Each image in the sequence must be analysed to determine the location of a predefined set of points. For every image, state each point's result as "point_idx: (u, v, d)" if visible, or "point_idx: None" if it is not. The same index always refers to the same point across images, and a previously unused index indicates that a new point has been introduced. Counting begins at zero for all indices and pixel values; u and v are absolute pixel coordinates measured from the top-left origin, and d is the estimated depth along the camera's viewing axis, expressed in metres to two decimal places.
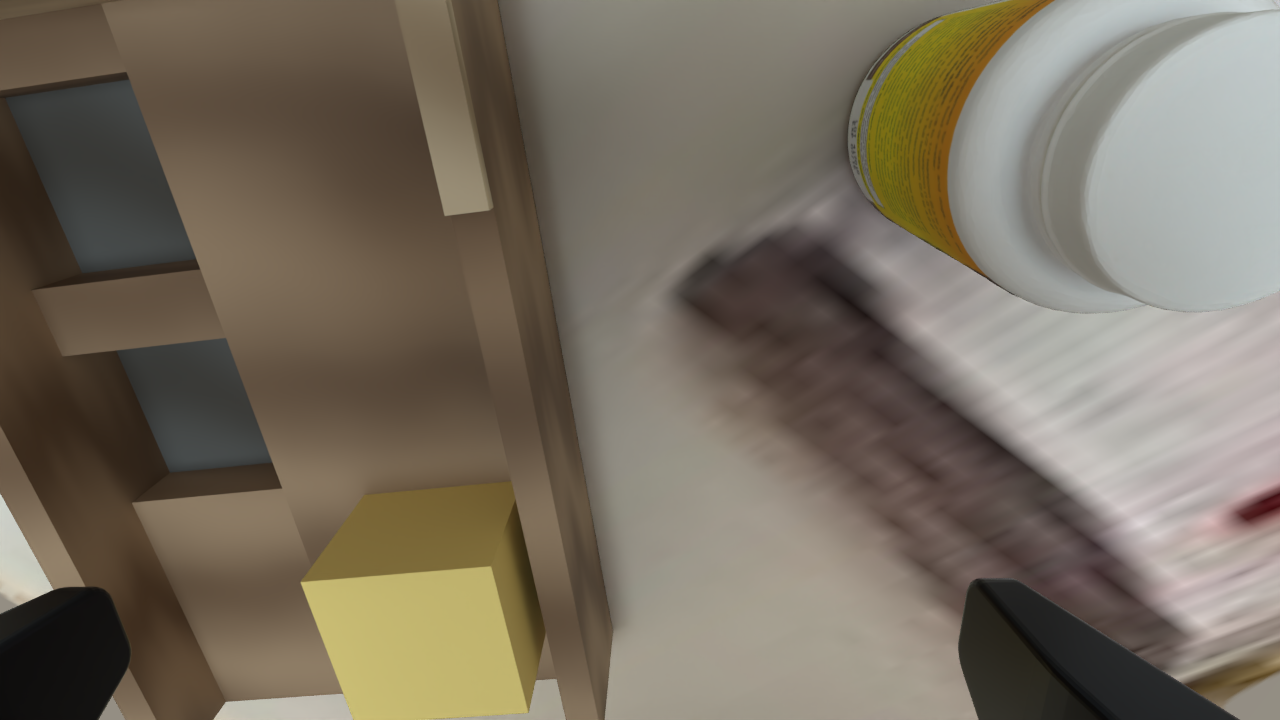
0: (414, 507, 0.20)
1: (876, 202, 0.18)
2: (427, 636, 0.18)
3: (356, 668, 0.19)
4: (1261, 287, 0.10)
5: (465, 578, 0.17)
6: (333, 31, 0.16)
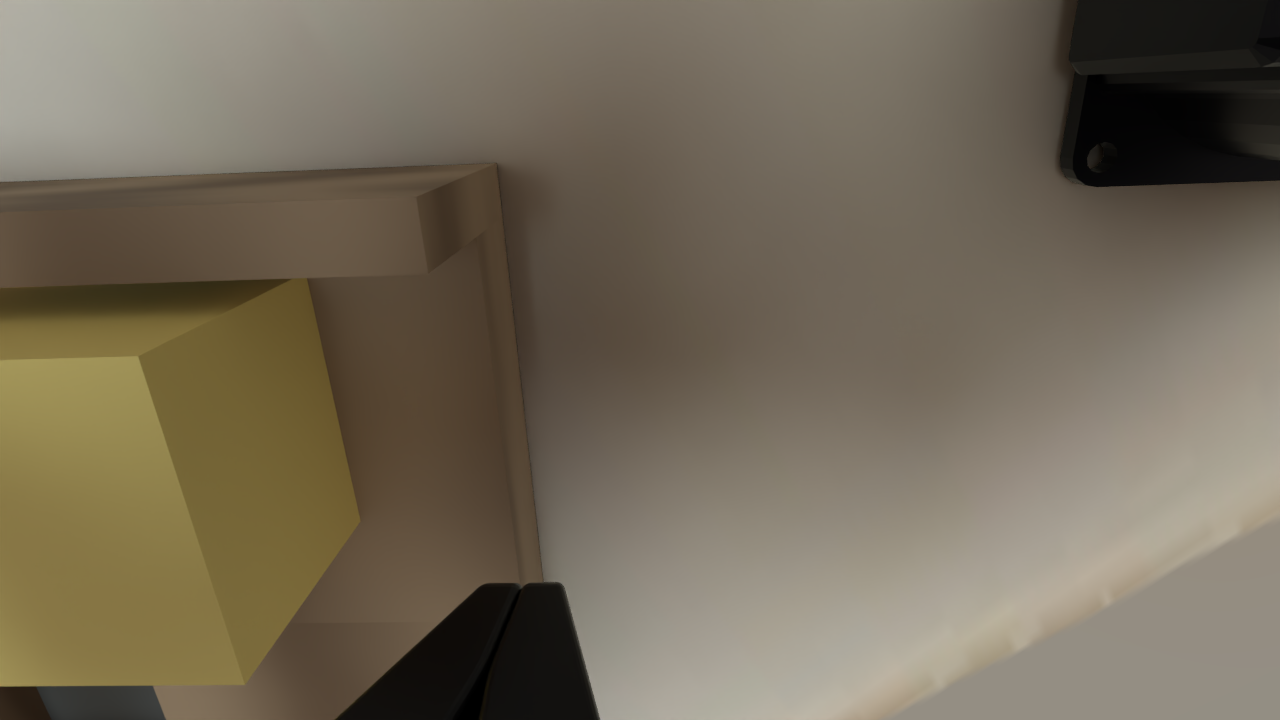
0: None
1: None
2: None
3: (93, 652, 0.10)
4: None
5: None
6: None
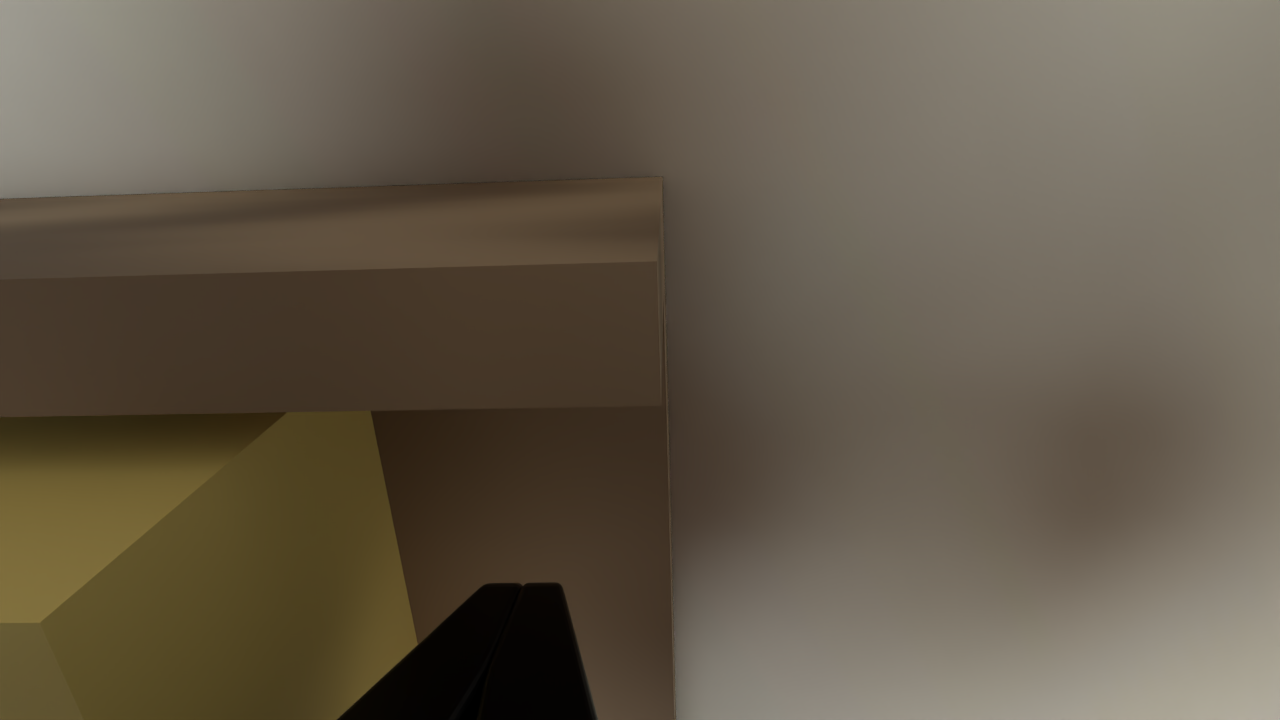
0: None
1: None
2: None
3: None
4: None
5: None
6: None
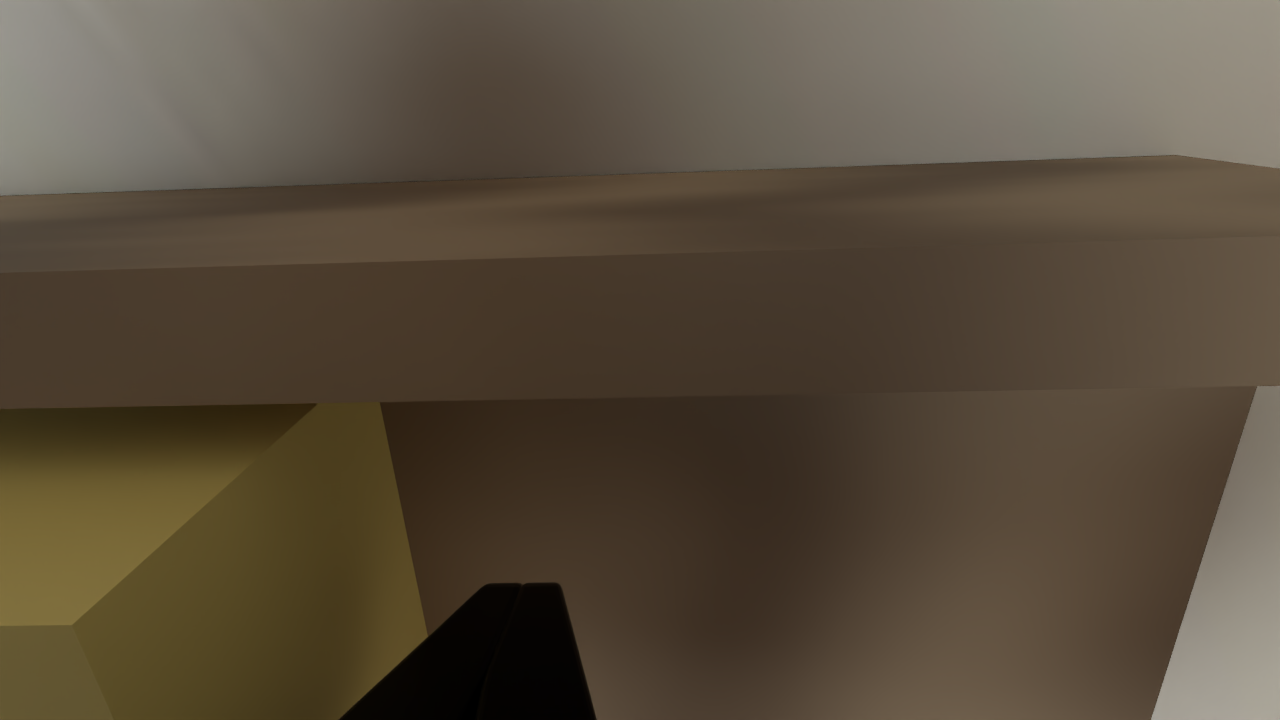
0: None
1: None
2: None
3: None
4: None
5: None
6: None
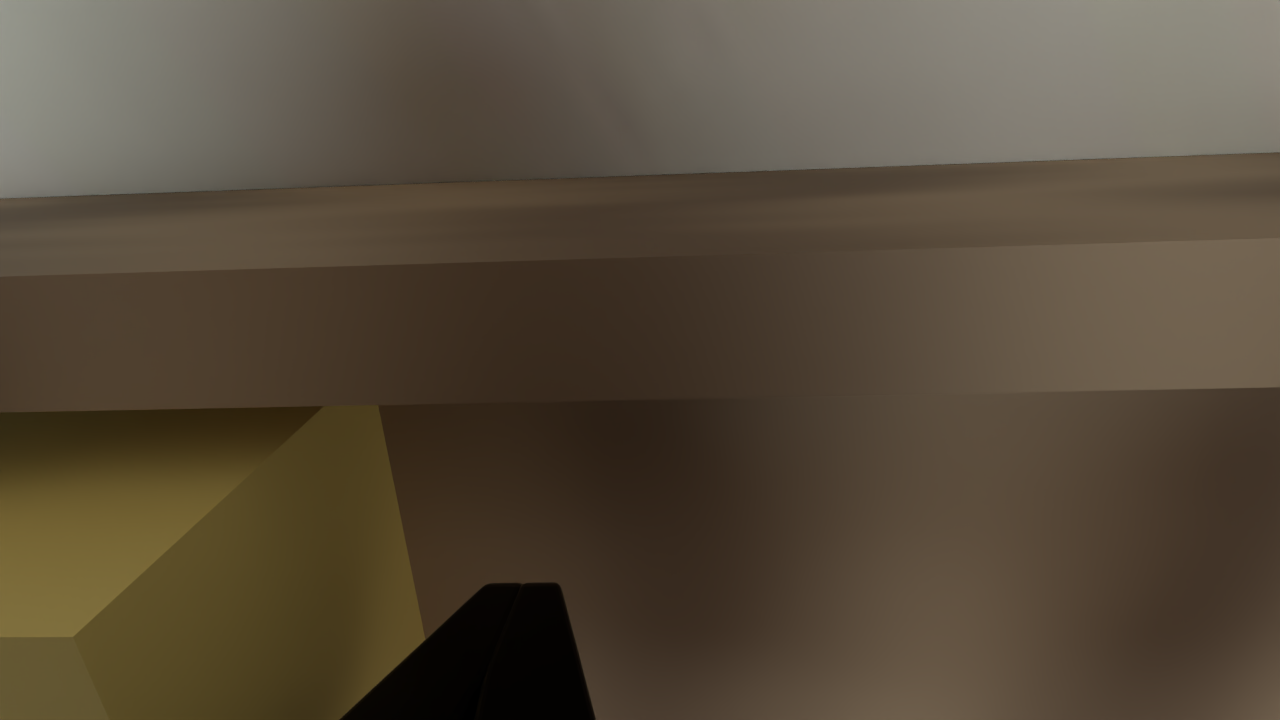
0: None
1: None
2: None
3: None
4: None
5: None
6: None
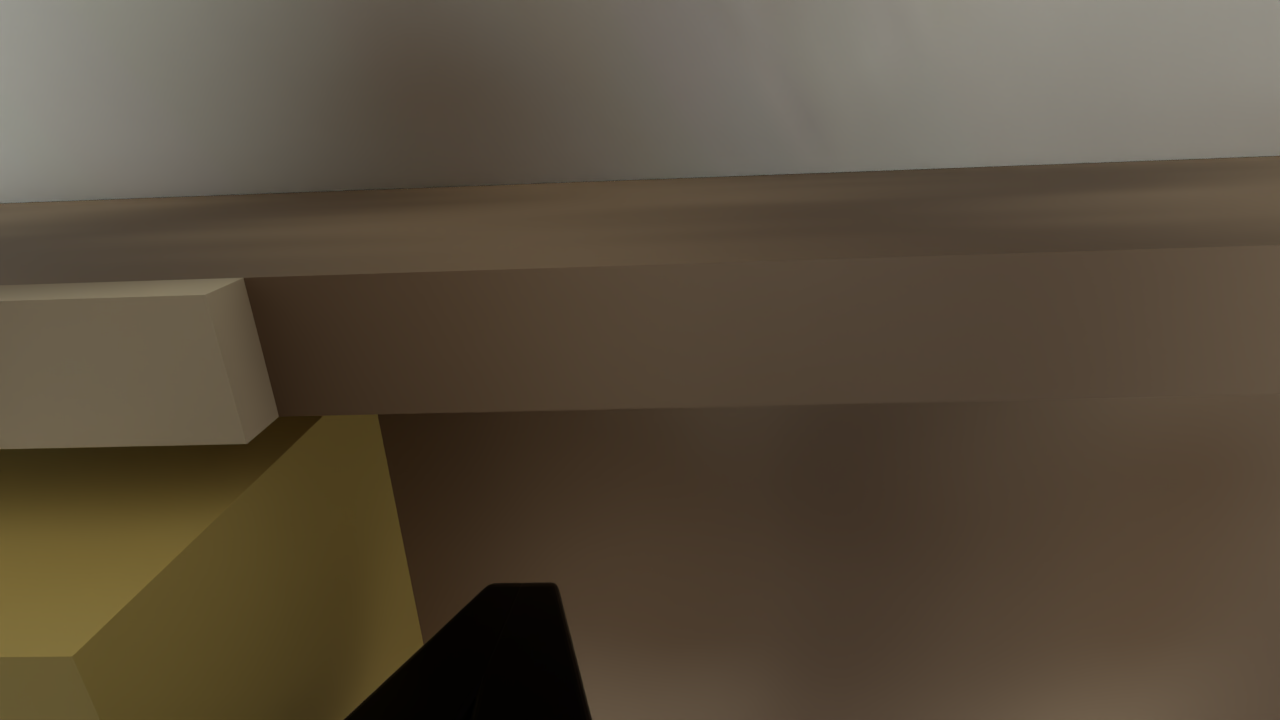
0: None
1: None
2: None
3: None
4: None
5: None
6: None
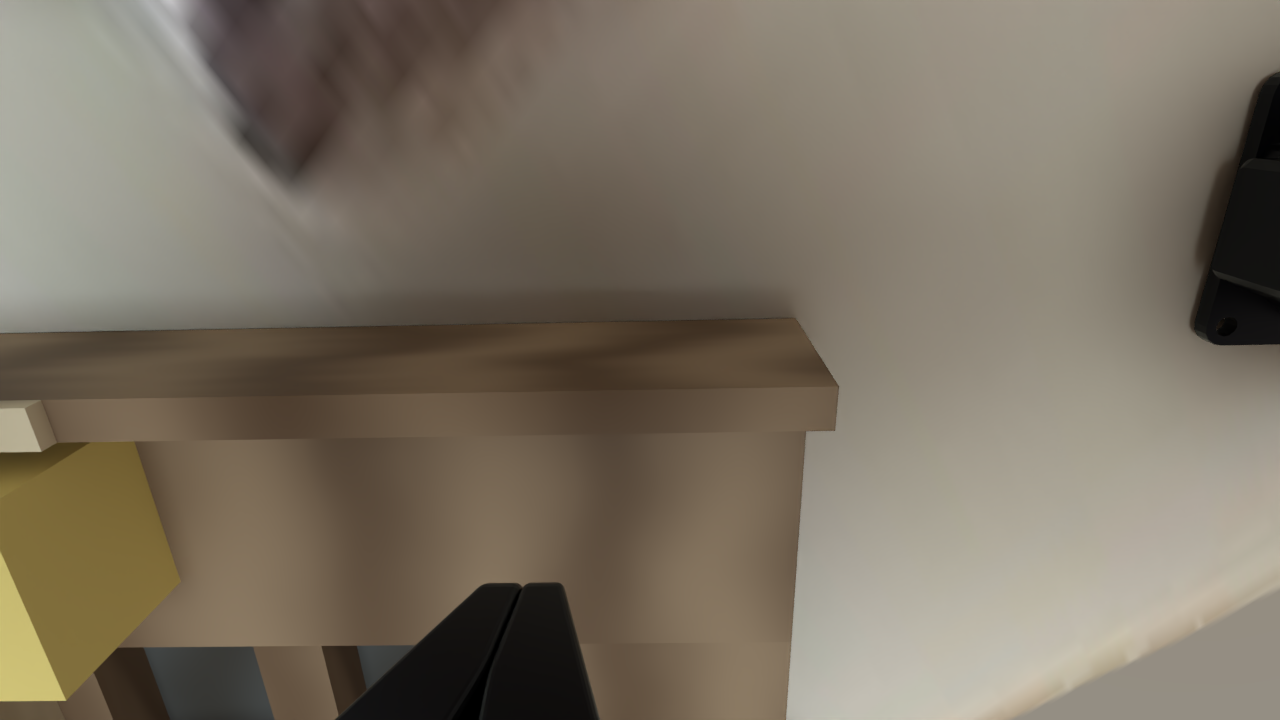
0: None
1: None
2: None
3: None
4: None
5: None
6: None
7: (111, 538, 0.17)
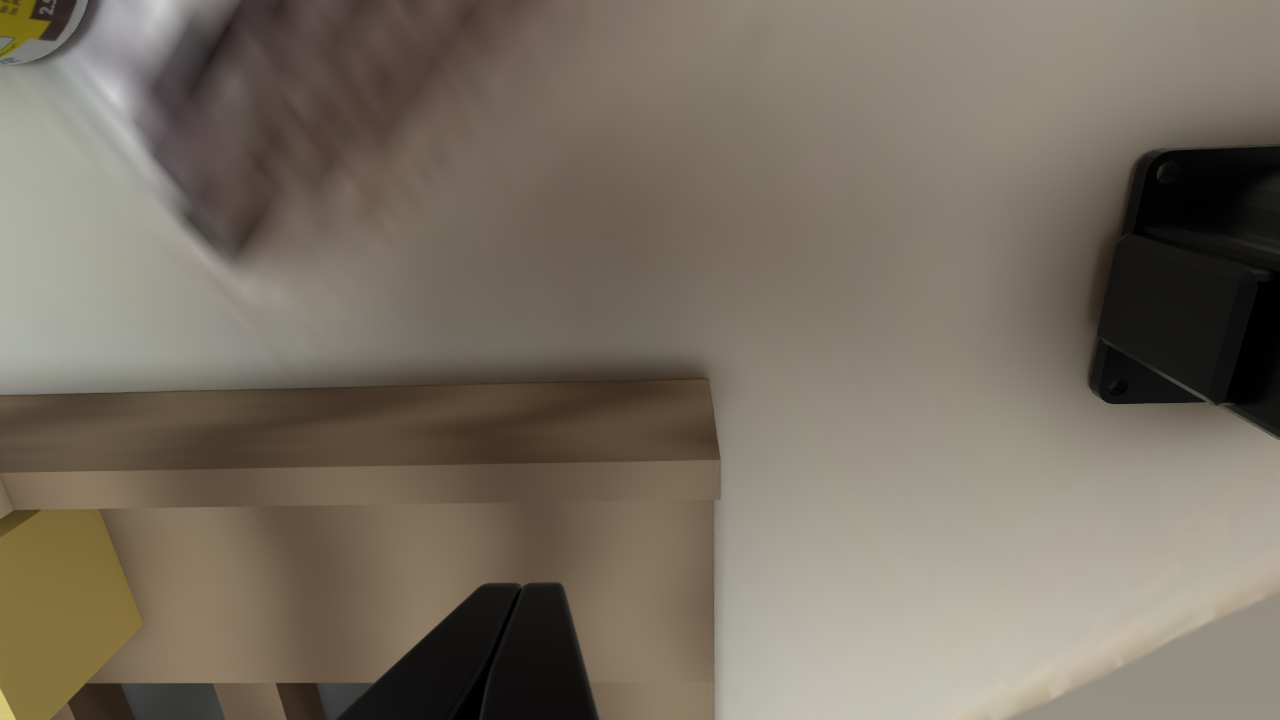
0: None
1: (15, 39, 0.15)
2: None
3: None
4: None
5: None
6: None
7: (72, 590, 0.18)
